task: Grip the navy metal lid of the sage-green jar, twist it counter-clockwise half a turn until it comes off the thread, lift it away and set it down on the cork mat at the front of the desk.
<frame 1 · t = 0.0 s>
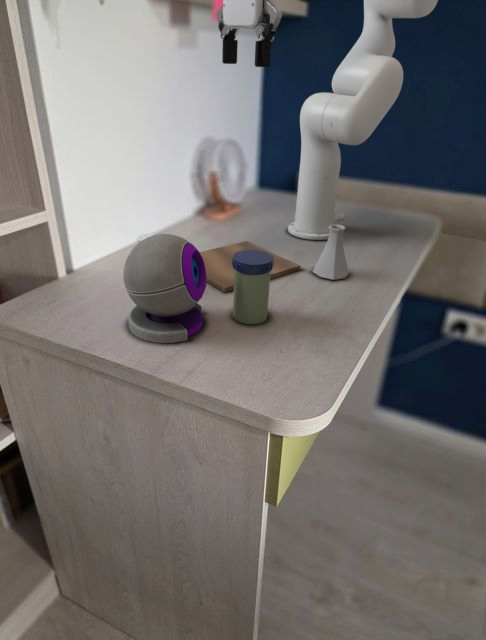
hand: (245, 65, 94), 37 cm above the table, tool pointing down, fingers open, 9 cm apart
pill bottle: (151, 287, 95), on the table
webcam: (167, 324, 83), on the table
mat: (236, 266, 105), on the table
flask: (330, 274, 104), on the table
jar: (250, 316, 86), on the table
lid: (253, 259, 81), point 10 cm above the table, screwed on, not yet turned
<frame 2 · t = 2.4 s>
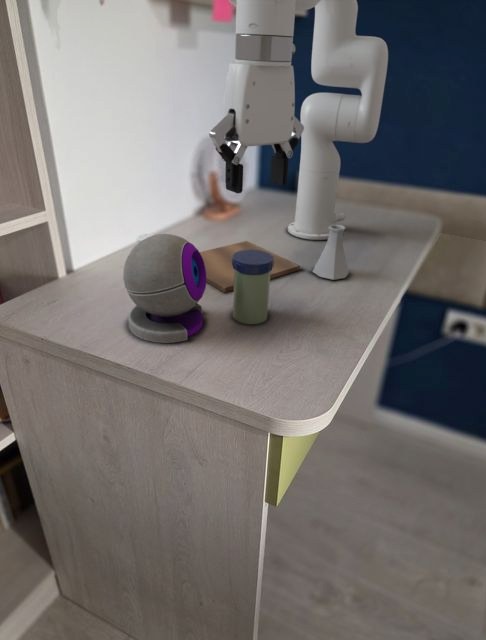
hand: (256, 186, 75), 22 cm above the table, tool pointing down, fingers open, 8 cm apart
nothing on the table moved.
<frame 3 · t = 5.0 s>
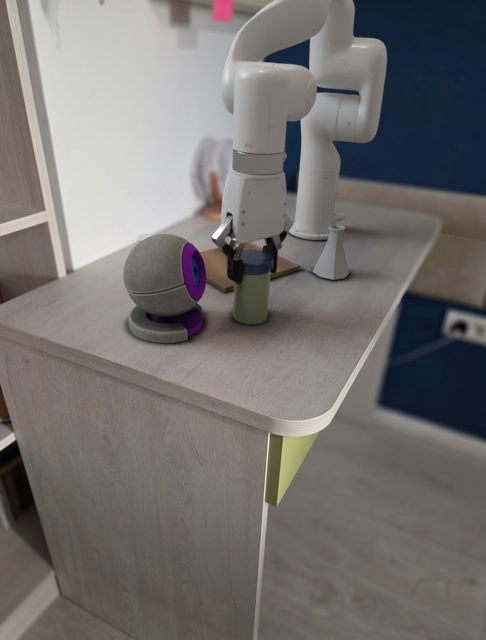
hand: (252, 274, 82), 8 cm above the table, tool pointing down, fingers closed on lid, 6 cm apart
lid: (253, 259, 81), point 10 cm above the table, screwed on, not yet turned, touching gripper
everything else where it was.
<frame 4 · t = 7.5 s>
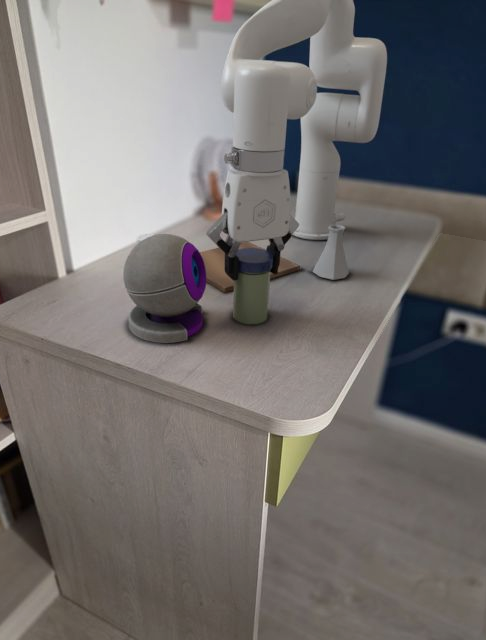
hand: (252, 273, 82), 8 cm above the table, tool pointing down, fingers closed on lid, 6 cm apart
lid: (252, 257, 81), point 11 cm above the table, off its thread, touching gripper
everything else where it was.
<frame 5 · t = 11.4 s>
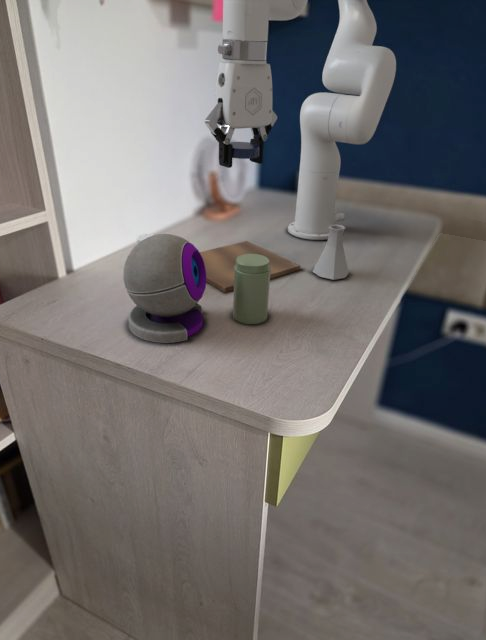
hand: (241, 163, 93), 21 cm above the table, tool pointing down, fingers closed on lid, 6 cm apart
lid: (241, 147, 92), point 24 cm above the table, off its thread, touching gripper
everything else where it was.
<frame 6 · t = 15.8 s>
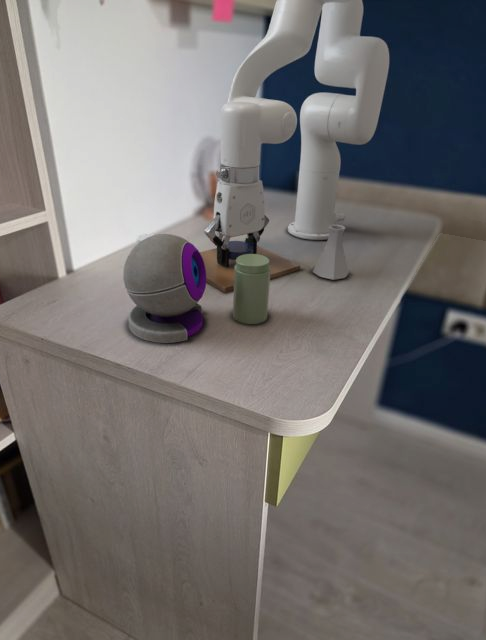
hand: (236, 261, 105), 1 cm above the table, tool pointing down, fingers closed on lid, 6 cm apart
lid: (237, 248, 103), point 4 cm above the table, off its thread, touching gripper
everything else where it was.
when the fingers open (1 cm above the table, at t = 17.9 s): lid drops 2 cm, resting on mat.
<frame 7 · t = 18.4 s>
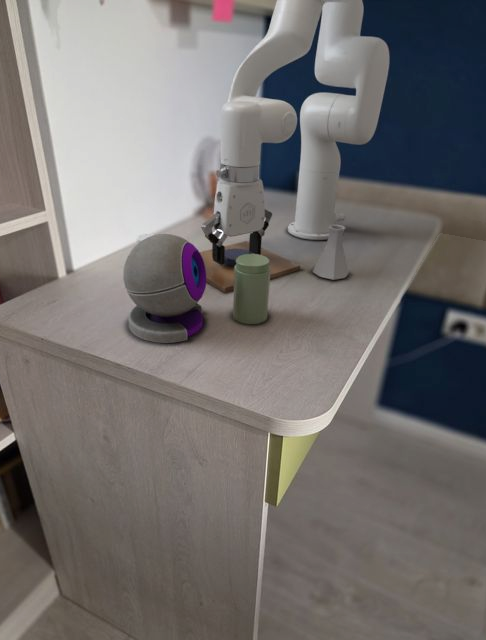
hand: (237, 257, 104), 2 cm above the table, tool pointing down, fingers open, 9 cm apart
lid: (237, 255, 104), point 2 cm above the table, off its thread, touching mat
everything else where it was.
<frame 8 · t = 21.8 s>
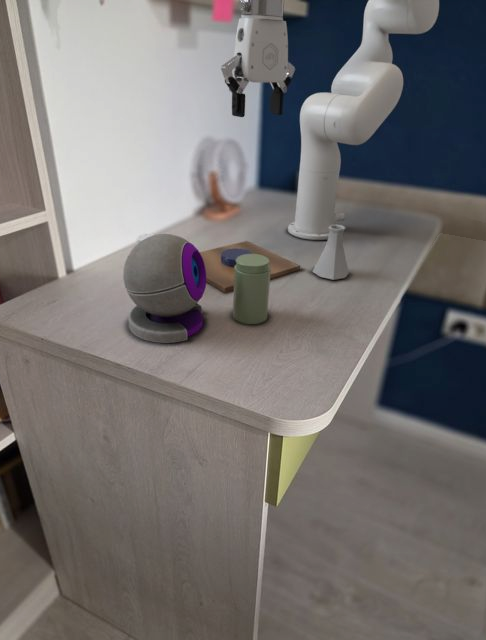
hand: (257, 115, 98), 28 cm above the table, tool pointing down, fingers open, 9 cm apart
nothing on the table moved.
at the end: lid inside the target area on the mat (0.1 cm from its centre), point 2.3 cm above the mat's base; lid came off its thread; the gripper is holding nothing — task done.
